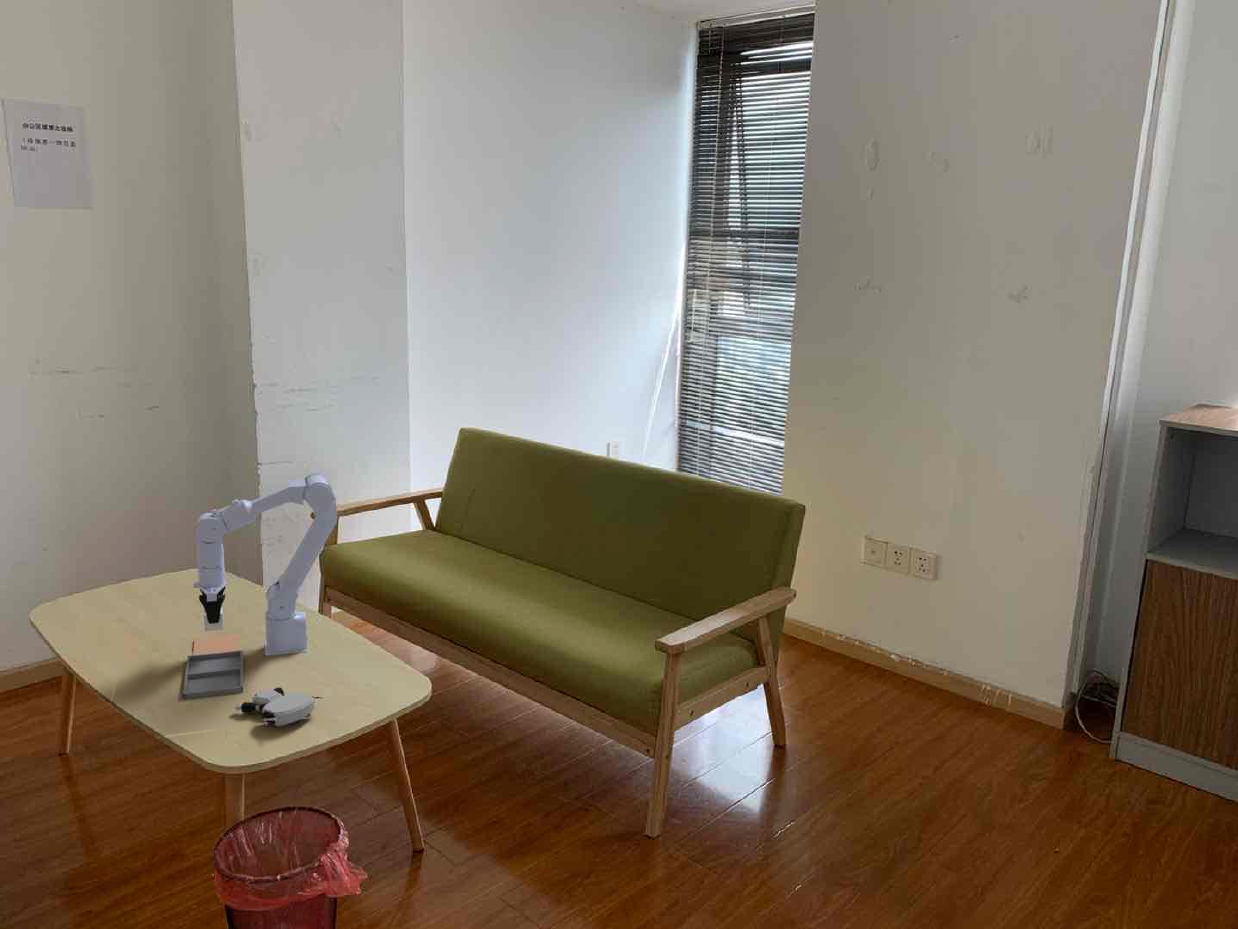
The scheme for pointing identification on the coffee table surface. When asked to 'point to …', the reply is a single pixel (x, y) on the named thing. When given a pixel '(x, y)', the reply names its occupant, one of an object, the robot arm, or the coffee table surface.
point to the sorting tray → (213, 674)
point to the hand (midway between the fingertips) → (214, 619)
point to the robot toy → (280, 706)
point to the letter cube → (215, 625)
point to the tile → (216, 644)
